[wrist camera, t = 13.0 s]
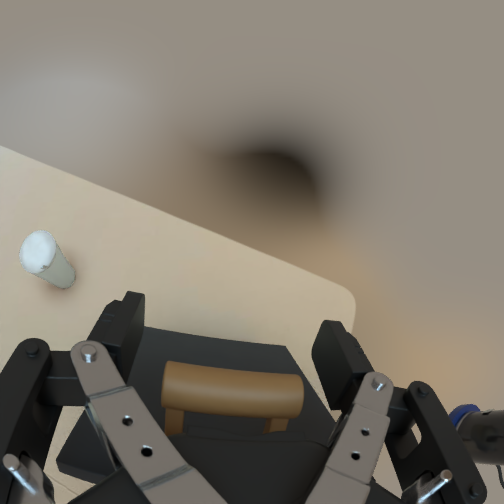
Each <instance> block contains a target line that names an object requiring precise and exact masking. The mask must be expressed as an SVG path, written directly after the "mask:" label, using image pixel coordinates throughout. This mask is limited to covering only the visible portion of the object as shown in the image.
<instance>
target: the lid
mask: <svg viewBox="0 0 504 504" xmlns="http://www.w3.org/2000/svg"><path fill="white" fill-rule="evenodd" d="M126 385H127V386H129V385H131V386H132V387H133V388H134V389H135V390H136V392H137V394H138V395H139V397H140V398H141V400H142V401H143V403H144V405H145V406H146V408H147V409H148V411H149V412H150V414H151V415H152V417H153V418H154V420H155V421H156V422H157V424H158V425H159V427H160V428H161V430H162V431H163V432H164V434H165V435H166V436H169V435H173V434H178V433H186V432H187V425H195V426H203V427H213V428H219V429H223V430H226V431H230V432H233V433H237V434H241V435H245V436H254V435H259V434H265V433H270V432H275V431H304V432H305V436H306V439H310V440H313V441H316V442H319V443H321V444H323V445H324V444H325V443H326V441H327V439H328V437H329V435H330V433H331V431H332V430H333V428H334V426H335V424H336V422H335V421H334V419H333V418H332V416H331V415H330V413H329V412H328V410H327V409H326V407H325V406H324V404H323V403H322V401H321V400H320V398H319V397H318V395H317V394H316V392H315V391H314V389H313V388H312V386H311V384H310V383H309V381H308V380H307V378H306V377H305V375H304V374H303V372H302V371H301V369H300V368H299V366H298V365H297V363H296V362H295V360H294V359H293V357H292V355H291V354H290V352H289V351H288V349H287V348H286V346H281V345H270V344H260V343H251V342H242V341H234V340H226V339H218V338H211V337H204V336H198V335H191V334H185V333H179V332H173V331H167V330H161V329H156V328H151V327H145V326H144V330H143V335H142V339H141V342H140V344H139V347H138V350H137V353H136V356H135V359H134V362H133V366H132V369H131V372H130V375H129V378H128V381H127V384H126ZM56 463H57V466H58V469H59V471H60V472H62V473H64V474H67V475H70V476H73V477H76V478H78V479H81V480H84V481H88V482H91V483H94V484H97V483H99V482H100V481H102V480H103V479H105V478H106V477H107V476H109V475H110V474H112V473H113V472H115V470H114V468H113V466H112V465H111V463H110V461H109V459H108V457H107V455H106V453H105V451H104V449H103V446H102V444H101V442H100V440H99V438H98V436H97V434H96V432H95V430H94V428H93V426H92V424H91V421H90V419H89V417H88V415H87V413H86V410H84V411H83V413H82V415H81V416H80V418H79V420H78V421H77V423H76V425H75V426H74V428H73V430H72V432H71V433H70V435H69V437H68V439H67V440H66V442H65V444H64V446H63V447H62V449H61V451H60V453H59V455H58V456H57V458H56ZM371 479H372V480H373V481H375V482H376V480H375V479H374V477H373V476H372V477H371Z"/></svg>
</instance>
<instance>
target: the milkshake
mask: <svg viewBox="0 0 504 504" xmlns="http://www.w3.org/2000/svg"><path fill="white" fill-rule="evenodd" d="M19 258H20V262H21V264H22V266H23V268H24V269H25V270H26V271H27V272H30V273H31V274H33V275H35V276H37V277H39V278H41V279H43V280H45V281H47V282H48V283H50V284H52V285H54V286H56V287H58V288H61V289H66V288H68V287H70V286H71V285H72V284H73V282H74V280H75V271H74V269H73V268H72V266H71V264H70V263H69V262H68V260H67V259H66V257H65V256H64V255H63V253H62V251H61V249H60V248H59V246H58V244H57V243H56V241H55V239H54V238H53V236H52V235H51V234H50V233H49V232H47V231H45V230H41V231H35V232H33V233H31V234H30V235H29V236H28V237H27V238H26V239H25V240H24V242H23V244H22V246H21V249H20V252H19Z"/></svg>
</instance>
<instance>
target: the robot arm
mask: <svg viewBox="0 0 504 504" xmlns="http://www.w3.org/2000/svg"><path fill="white" fill-rule="evenodd" d="M144 313H145V294H142V293H136V292H131V291H127V293H126V295H125V297H124V298H123V300H122V301H118V300H114V301H112V302H111V303H109V304H108V305H106V307H105V309H104V310H103V312H102V314H101V315H100V317H99V320H98V321H97V322H96V324H95V326H94V328H93V329H92V331H91V333H90V335H89V336H88V338H87V340H86V341H81V342H79V343H77V344H75V345H74V346H73V347H72V349H71V351H50V348H49V346H48V344H47V343H46V342H45V341H43V340H41V339H38V338H30V339H26V340H24V341H22V342H21V343H20V344H19V345H18V346H17V348H16V349H15V351H14V352H13V354H12V355H11V357H10V359H9V360H8V362H7V363H6V365H5V367H4V368H3V370H2V372H1V374H0V504H56V503H55V501H54V487H53V484H52V482H51V481H50V479H49V478H48V477H47V476H46V474H45V473H44V472H43V469H44V466H45V462H46V458H47V455H48V451H49V448H50V445H51V441H52V438H53V435H54V432H55V429H56V426H57V423H58V420H59V417H60V414H61V411H62V408H63V406H84V408H85V410H86V413H87V415H88V417H89V419H90V421H91V424H92V426H93V428H94V430H95V432H96V434H97V436H98V438H99V440H100V442H101V444H102V446H103V449H104V451H105V453H106V455H107V457H108V459H109V461H110V463H111V465H112V466H113V468H114V470H115V472H113V473H112V474H110V475H109V476H107V477H106V478H105V479H103V480H102V481H100V482H99V483H97V484H96V485H94V486H93V487H91V488H90V489H88V490H87V491H85V492H84V493H82V494H81V495H79V496H77V497H76V498H74V499H73V500H71V501H70V502H68V503H67V504H483V503H484V502H485V500H486V497H487V489H486V486H485V484H484V482H483V480H482V477H481V475H480V473H479V471H478V469H477V467H476V465H475V463H479V464H490V465H496V467H497V469H498V473H499V479H500V483H501V485H502V487H503V488H504V482H503V478H502V472H501V467H500V465H504V410H496V411H492V410H493V409H492V410H487V411H479V412H477V411H469V412H466V413H465V414H463V415H462V416H461V417H460V418H459V420H458V421H457V423H456V425H455V426H454V424H453V423H452V421H451V419H450V417H449V416H448V414H447V412H446V411H445V409H444V407H443V406H442V404H441V402H440V401H439V399H438V397H437V395H436V394H435V392H434V391H433V389H432V388H431V387H430V386H429V385H427V384H426V383H424V382H421V381H414V382H412V383H411V384H410V385H409V387H408V388H407V389H404V388H399V387H394V386H393V383H392V381H391V380H390V379H389V378H388V377H387V376H385V375H384V374H382V373H379V372H375V371H374V369H373V367H372V366H371V364H370V362H369V360H368V359H367V357H366V355H365V354H364V352H363V350H362V348H360V347H361V346H360V345H359V343H358V341H357V339H356V338H355V337H353V336H352V335H351V334H350V333H349V332H346V330H345V328H344V326H343V325H342V323H341V322H340V321H331V320H324V321H323V322H322V324H321V327H320V329H319V332H318V334H317V337H316V339H315V342H314V344H313V347H312V360H313V362H314V365H315V368H316V371H317V373H318V376H319V379H320V382H321V385H322V387H323V390H324V393H325V396H326V399H327V401H328V404H329V407H330V410H341V412H342V414H341V415H340V416H339V418H338V420H337V422H336V424H335V426H334V428H333V430H332V431H331V433H330V435H329V437H328V439H327V441H326V443H325V444H324V445H323V444H321V443H319V442H316V441H313V440H310V439H306V436H305V432H304V431H275V432H270V433H265V434H259V435H254V436H245V435H241V434H237V433H233V432H230V431H226V430H223V429H219V428H213V427H203V426H195V425H187V432H186V433H178V434H173V435H169V436H166V435H165V434H164V432H163V431H162V430H161V428H160V427H159V425H158V424H157V422H156V421H155V420H154V418H153V417H152V415H151V414H150V412H149V411H148V409H147V408H146V406H145V405H144V403H143V401H142V400H141V398H140V397H139V395H138V394H137V392H136V390H135V389H134V388H133V387H132V386H131V385H129V386H127V385H126V384H127V381H128V378H129V375H130V372H131V369H132V366H133V362H134V359H135V356H136V353H137V350H138V347H139V344H140V342H141V339H142V335H143V330H144ZM415 423H416V424H417V426H418V428H419V430H420V432H421V436H422V437H421V442H420V443H419V444H418V442H417V440H416V438H415V436H414V433H413V432H412V429H411V428H412V427H413V425H414V424H415ZM384 442H385V444H386V447H387V450H388V453H389V455H390V458H391V461H392V463H393V466H394V469H395V472H396V474H397V477H398V480H399V483H400V486H401V489H402V491H403V493H402V496H401V499H400V498H398V497H397V496H395V495H394V494H392V493H390V492H389V491H388V490H386V489H384V488H383V487H382V486H380V485H379V484H378V483H376V482H375V481H373V480H372V479H371V477H372V475H373V472H374V469H375V467H376V464H377V461H378V458H379V455H380V452H381V449H382V446H383V443H384Z"/></svg>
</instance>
